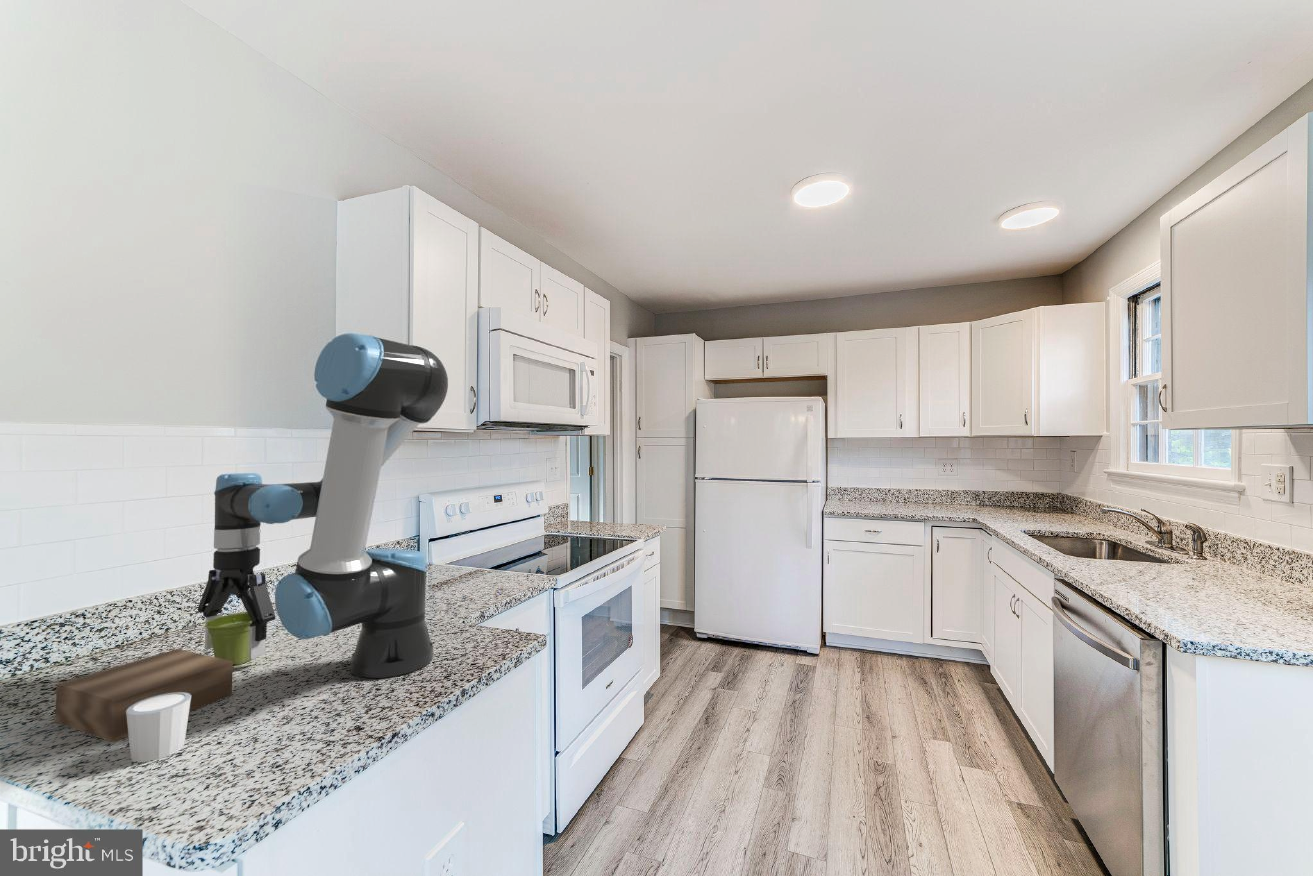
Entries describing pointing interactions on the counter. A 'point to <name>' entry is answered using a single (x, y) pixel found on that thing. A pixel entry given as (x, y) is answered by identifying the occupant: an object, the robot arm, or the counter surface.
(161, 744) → the white tapered cup
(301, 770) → the counter surface
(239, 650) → the plant pot
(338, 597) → the robot arm
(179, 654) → the walnut block
